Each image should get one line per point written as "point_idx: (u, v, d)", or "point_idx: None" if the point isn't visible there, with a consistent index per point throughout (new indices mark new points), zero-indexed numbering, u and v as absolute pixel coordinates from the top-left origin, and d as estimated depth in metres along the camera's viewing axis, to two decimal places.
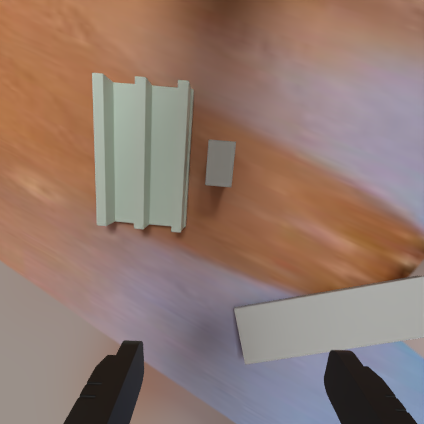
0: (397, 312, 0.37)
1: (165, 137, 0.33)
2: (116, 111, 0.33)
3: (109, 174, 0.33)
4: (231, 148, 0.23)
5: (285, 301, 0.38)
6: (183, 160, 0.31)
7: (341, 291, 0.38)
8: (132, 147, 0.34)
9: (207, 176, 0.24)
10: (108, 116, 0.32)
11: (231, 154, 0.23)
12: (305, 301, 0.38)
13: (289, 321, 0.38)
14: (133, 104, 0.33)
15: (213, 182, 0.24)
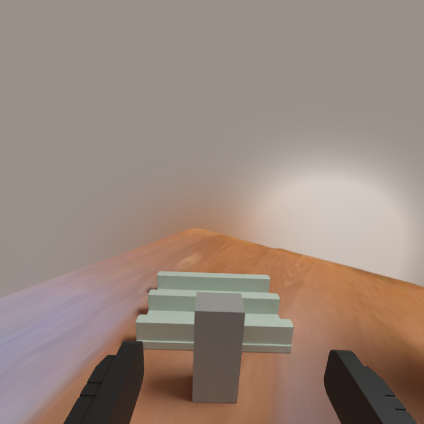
0: None
1: None
2: (248, 293, 0.41)
3: (199, 283, 0.41)
4: (237, 309, 0.21)
5: None
6: None
7: None
8: None
9: (205, 293, 0.23)
10: (243, 285, 0.41)
11: (231, 309, 0.21)
12: None
13: None
14: None
15: (199, 297, 0.22)
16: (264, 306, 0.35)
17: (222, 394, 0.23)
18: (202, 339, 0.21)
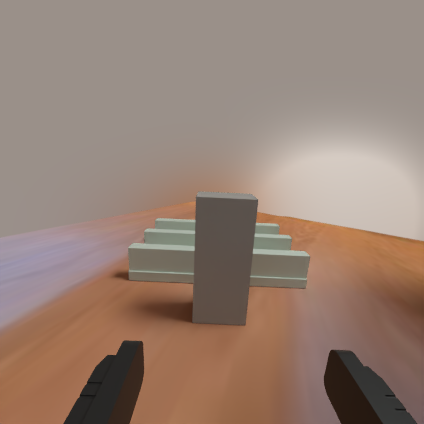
0: None
1: None
2: None
3: None
4: (248, 198, 0.17)
5: None
6: None
7: None
8: None
9: (209, 192, 0.20)
10: None
11: (240, 198, 0.17)
12: None
13: None
14: None
15: (201, 193, 0.19)
16: (274, 247, 0.31)
17: (228, 312, 0.19)
18: (205, 236, 0.18)
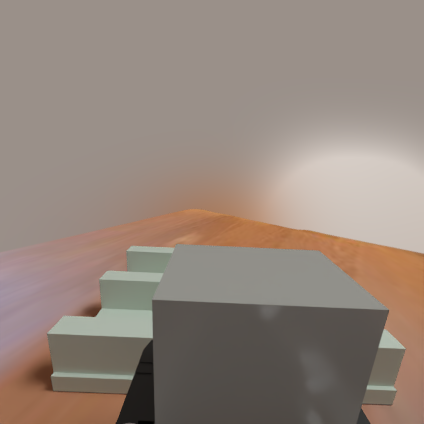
0: None
1: None
2: None
3: None
4: (343, 295, 0.05)
5: None
6: None
7: None
8: None
9: (204, 247, 0.07)
10: None
11: (317, 297, 0.05)
12: None
13: None
14: None
15: (182, 256, 0.06)
16: None
17: None
18: (191, 418, 0.05)
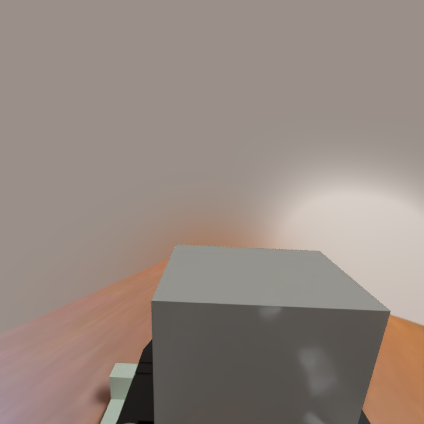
0: None
1: None
2: None
3: None
4: (344, 296, 0.05)
5: None
6: None
7: None
8: None
9: (204, 247, 0.07)
10: None
11: (318, 297, 0.05)
12: None
13: None
14: None
15: (182, 257, 0.06)
16: None
17: None
18: (190, 420, 0.05)
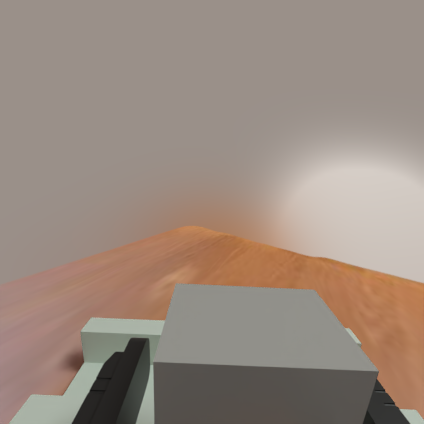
0: None
1: None
2: None
3: None
4: (335, 352, 0.05)
5: None
6: None
7: None
8: None
9: (203, 287, 0.07)
10: None
11: (311, 354, 0.05)
12: None
13: None
14: None
15: (182, 301, 0.07)
16: None
17: None
18: None
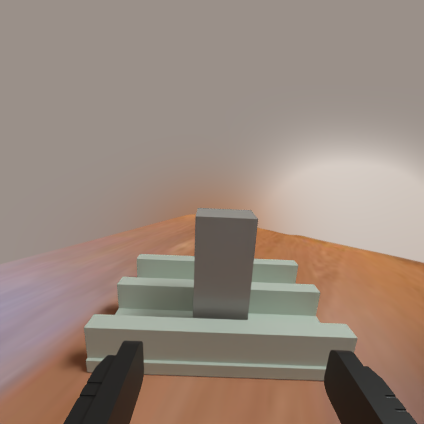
0: None
1: None
2: None
3: None
4: (248, 217, 0.17)
5: None
6: (224, 331, 0.17)
7: None
8: None
9: (208, 208, 0.19)
10: (259, 273, 0.29)
11: (240, 217, 0.17)
12: None
13: None
14: None
15: (201, 210, 0.19)
16: (295, 303, 0.23)
17: None
18: (205, 255, 0.17)
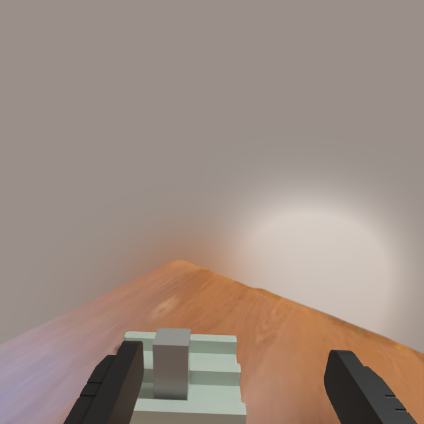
0: None
1: (195, 399, 0.33)
2: (215, 355, 0.41)
3: None
4: (183, 343, 0.29)
5: None
6: (169, 410, 0.29)
7: None
8: None
9: (164, 328, 0.32)
10: (209, 347, 0.41)
11: (179, 343, 0.29)
12: None
13: None
14: None
15: (158, 332, 0.31)
16: (225, 378, 0.35)
17: None
18: (159, 363, 0.30)
